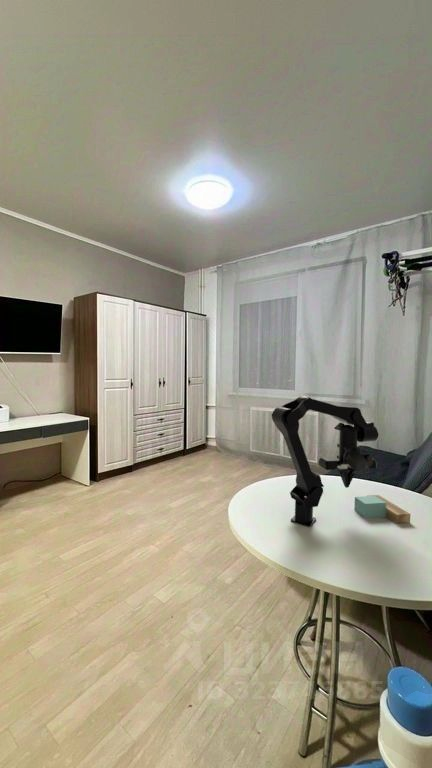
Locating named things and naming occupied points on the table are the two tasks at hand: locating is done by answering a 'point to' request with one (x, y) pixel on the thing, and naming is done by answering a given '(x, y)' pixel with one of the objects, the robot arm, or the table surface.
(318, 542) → the table surface
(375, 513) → the block
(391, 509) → the board
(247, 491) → the table surface
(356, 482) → the table surface
